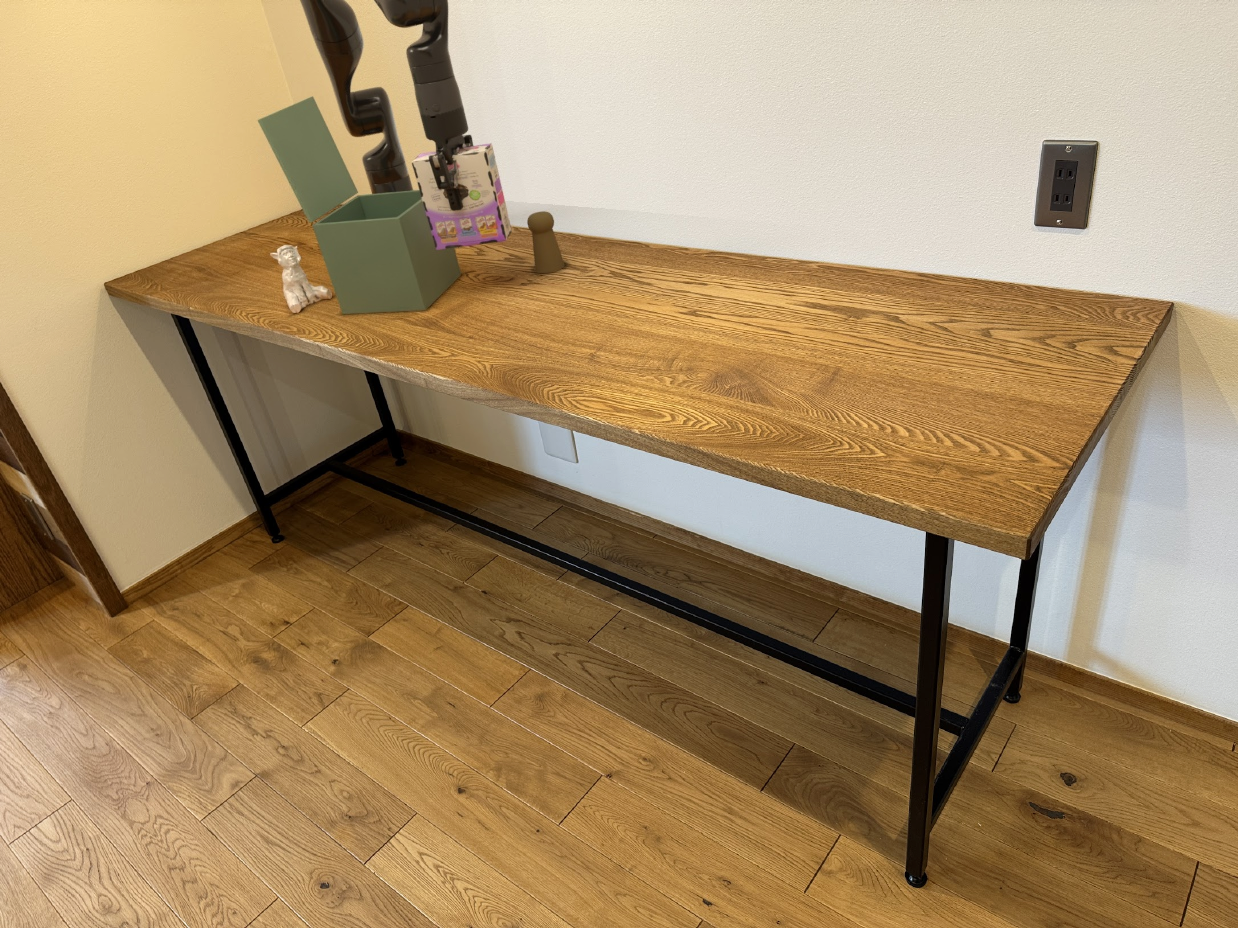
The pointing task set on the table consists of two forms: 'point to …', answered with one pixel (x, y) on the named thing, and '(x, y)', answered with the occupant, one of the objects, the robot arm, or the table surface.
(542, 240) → the brown game pawn
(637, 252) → the table surface
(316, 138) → the lid
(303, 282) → the sitting furry creature
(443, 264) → the chest
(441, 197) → the candy box
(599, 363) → the table surface
